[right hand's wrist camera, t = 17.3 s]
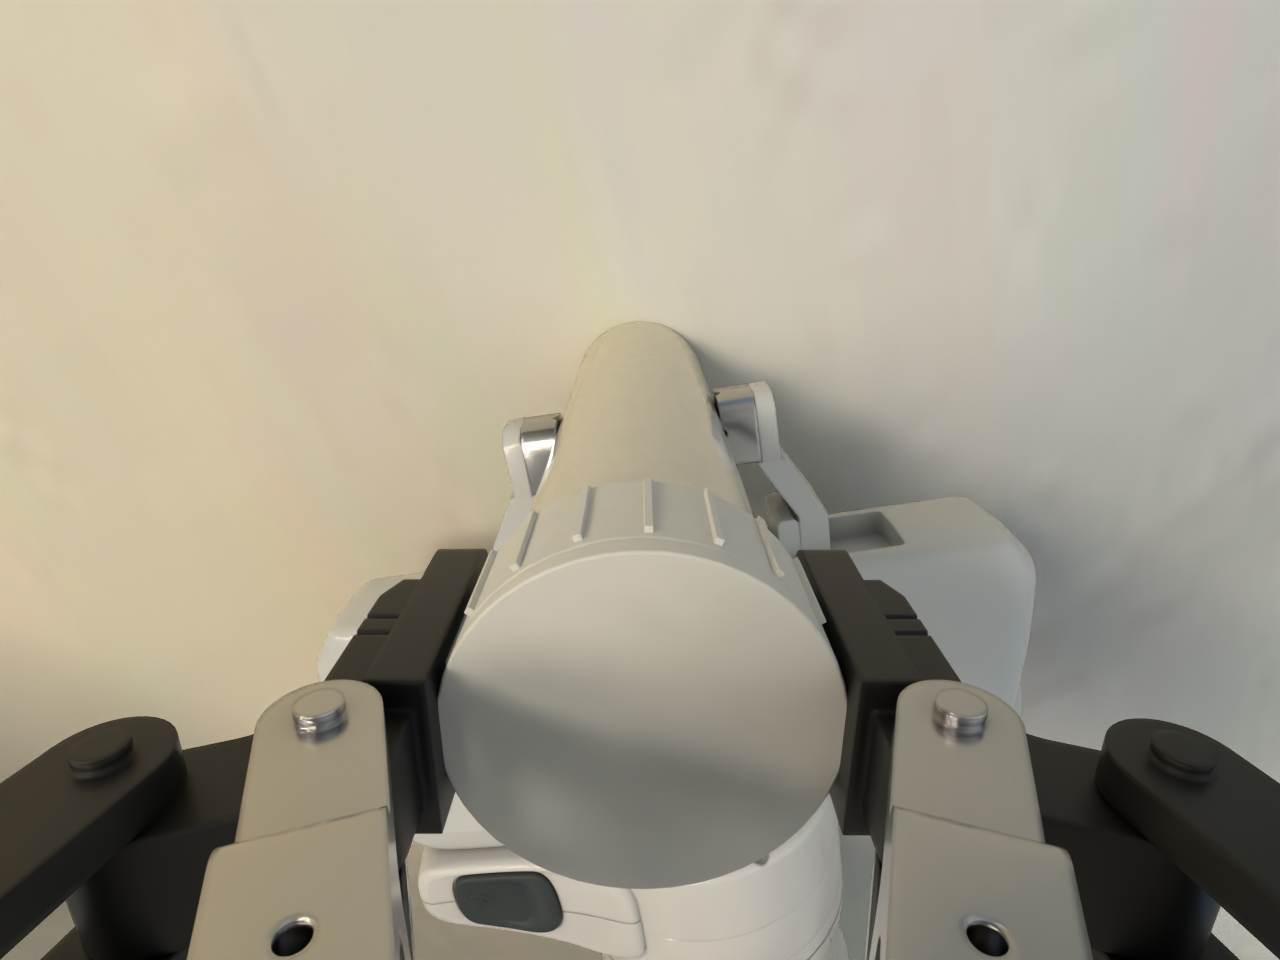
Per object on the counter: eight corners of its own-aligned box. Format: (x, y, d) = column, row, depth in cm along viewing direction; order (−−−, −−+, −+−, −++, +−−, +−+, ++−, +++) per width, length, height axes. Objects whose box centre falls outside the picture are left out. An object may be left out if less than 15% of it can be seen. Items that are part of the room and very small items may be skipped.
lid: (412, 532, 10) (355, 615, 8) (768, 428, 10) (803, 488, 8) (538, 804, 12) (517, 928, 10) (847, 728, 12) (892, 842, 10)
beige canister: (702, 318, 25) (818, 546, 9) (703, 440, 27) (805, 829, 10) (574, 323, 25) (453, 559, 9) (582, 445, 27) (492, 838, 10)
